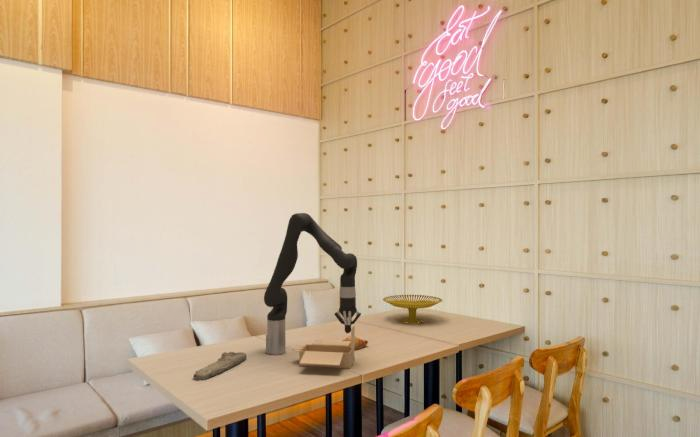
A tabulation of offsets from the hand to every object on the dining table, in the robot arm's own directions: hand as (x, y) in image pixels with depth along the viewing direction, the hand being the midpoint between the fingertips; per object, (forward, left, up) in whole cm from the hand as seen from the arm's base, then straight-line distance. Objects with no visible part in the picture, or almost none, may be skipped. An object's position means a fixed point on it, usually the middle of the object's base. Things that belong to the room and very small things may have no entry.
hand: (348, 332), depth 213 cm
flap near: (-10, -6, -8) cm, 14 cm away
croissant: (-4, +27, -15) cm, 31 cm away
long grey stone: (-57, -14, -16) cm, 60 cm away
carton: (-12, +4, -15) cm, 20 cm away
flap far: (+2, 0, -8) cm, 8 cm away
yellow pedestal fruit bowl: (+27, +99, -15) cm, 104 cm away
